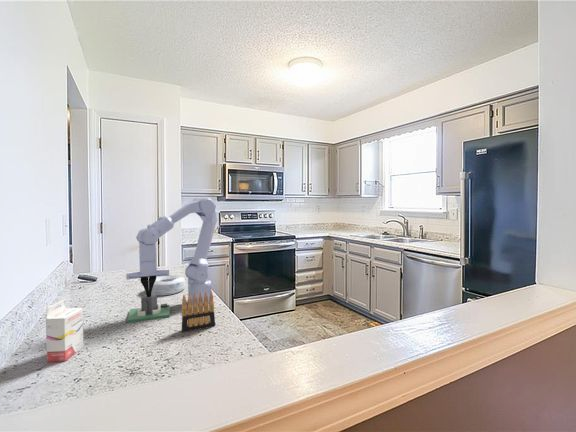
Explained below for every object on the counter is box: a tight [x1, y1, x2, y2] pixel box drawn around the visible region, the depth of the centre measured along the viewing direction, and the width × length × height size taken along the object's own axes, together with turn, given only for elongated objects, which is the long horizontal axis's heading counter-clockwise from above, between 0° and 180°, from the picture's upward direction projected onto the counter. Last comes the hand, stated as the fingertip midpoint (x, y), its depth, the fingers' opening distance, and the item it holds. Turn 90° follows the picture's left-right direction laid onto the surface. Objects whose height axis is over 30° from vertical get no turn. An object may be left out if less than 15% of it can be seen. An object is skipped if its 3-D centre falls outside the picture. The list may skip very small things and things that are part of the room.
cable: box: [148, 274, 187, 296], centre depth 146 cm, size 18×18×6 cm
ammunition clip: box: [181, 290, 216, 333], centre depth 102 cm, size 11×2×12 cm, turn 115°
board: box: [126, 303, 171, 324], centre depth 115 cm, size 14×12×2 cm
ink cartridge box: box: [45, 298, 84, 363], centre depth 85 cm, size 9×5×15 cm, turn 5°
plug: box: [140, 294, 158, 315], centre depth 114 cm, size 4×5×6 cm
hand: (149, 296), depth 114 cm, fingers closed, pressing on plug
